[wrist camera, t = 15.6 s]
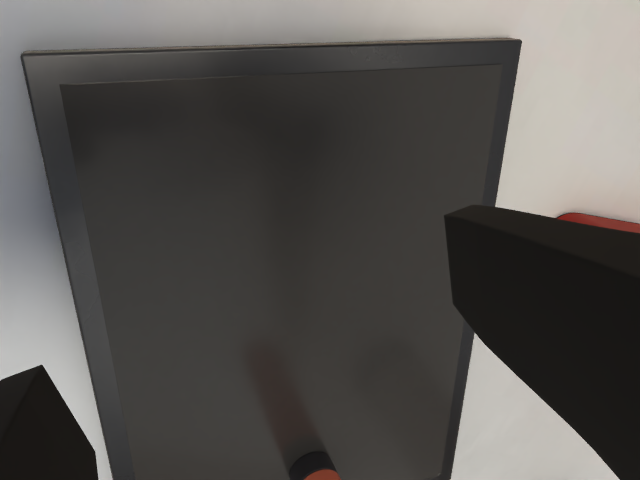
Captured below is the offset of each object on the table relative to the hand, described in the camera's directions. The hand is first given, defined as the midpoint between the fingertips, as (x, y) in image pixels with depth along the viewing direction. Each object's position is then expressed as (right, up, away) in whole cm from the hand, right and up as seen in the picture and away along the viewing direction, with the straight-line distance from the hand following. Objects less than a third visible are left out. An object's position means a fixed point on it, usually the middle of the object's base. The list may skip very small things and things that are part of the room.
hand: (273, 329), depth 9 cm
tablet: (0, -2, +12) cm, 13 cm away
